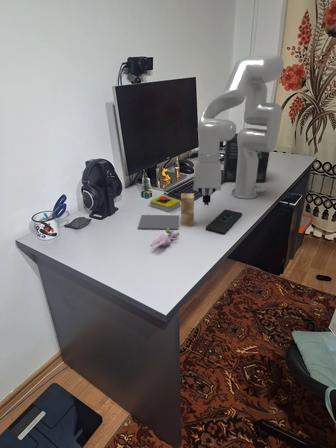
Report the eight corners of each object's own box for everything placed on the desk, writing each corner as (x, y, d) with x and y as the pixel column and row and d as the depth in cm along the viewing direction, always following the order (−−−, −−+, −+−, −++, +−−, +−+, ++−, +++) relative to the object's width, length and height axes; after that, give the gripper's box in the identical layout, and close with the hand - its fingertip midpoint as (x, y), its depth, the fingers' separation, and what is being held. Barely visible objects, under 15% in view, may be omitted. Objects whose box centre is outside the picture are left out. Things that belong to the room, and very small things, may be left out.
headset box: (262, 176, 177) (268, 129, 165) (266, 183, 166) (272, 134, 154) (222, 175, 179) (225, 129, 167) (223, 182, 168) (227, 134, 157)
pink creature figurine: (168, 236, 119) (146, 248, 107) (169, 222, 117) (147, 232, 105) (182, 240, 116) (161, 253, 104) (184, 225, 114) (162, 237, 102)
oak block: (193, 220, 128) (193, 193, 122) (193, 226, 123) (194, 198, 118) (181, 220, 128) (181, 193, 123) (181, 225, 124) (181, 198, 118)
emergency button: (159, 191, 147) (185, 198, 139) (159, 200, 149) (185, 207, 141) (146, 197, 140) (172, 205, 132) (147, 206, 142) (172, 214, 134)
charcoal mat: (179, 216, 131) (179, 215, 131) (178, 230, 121) (178, 228, 120) (141, 216, 132) (141, 214, 132) (137, 229, 122) (137, 228, 121)
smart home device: (243, 212, 131) (224, 232, 116) (242, 216, 132) (224, 236, 117) (224, 208, 135) (204, 227, 120) (224, 212, 136) (204, 231, 121)
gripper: (227, 155, 116) (224, 200, 124) (188, 155, 117) (187, 200, 125) (230, 160, 109) (226, 208, 117) (187, 160, 110) (187, 207, 118)
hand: (206, 203), depth 121 cm, fingers closed
